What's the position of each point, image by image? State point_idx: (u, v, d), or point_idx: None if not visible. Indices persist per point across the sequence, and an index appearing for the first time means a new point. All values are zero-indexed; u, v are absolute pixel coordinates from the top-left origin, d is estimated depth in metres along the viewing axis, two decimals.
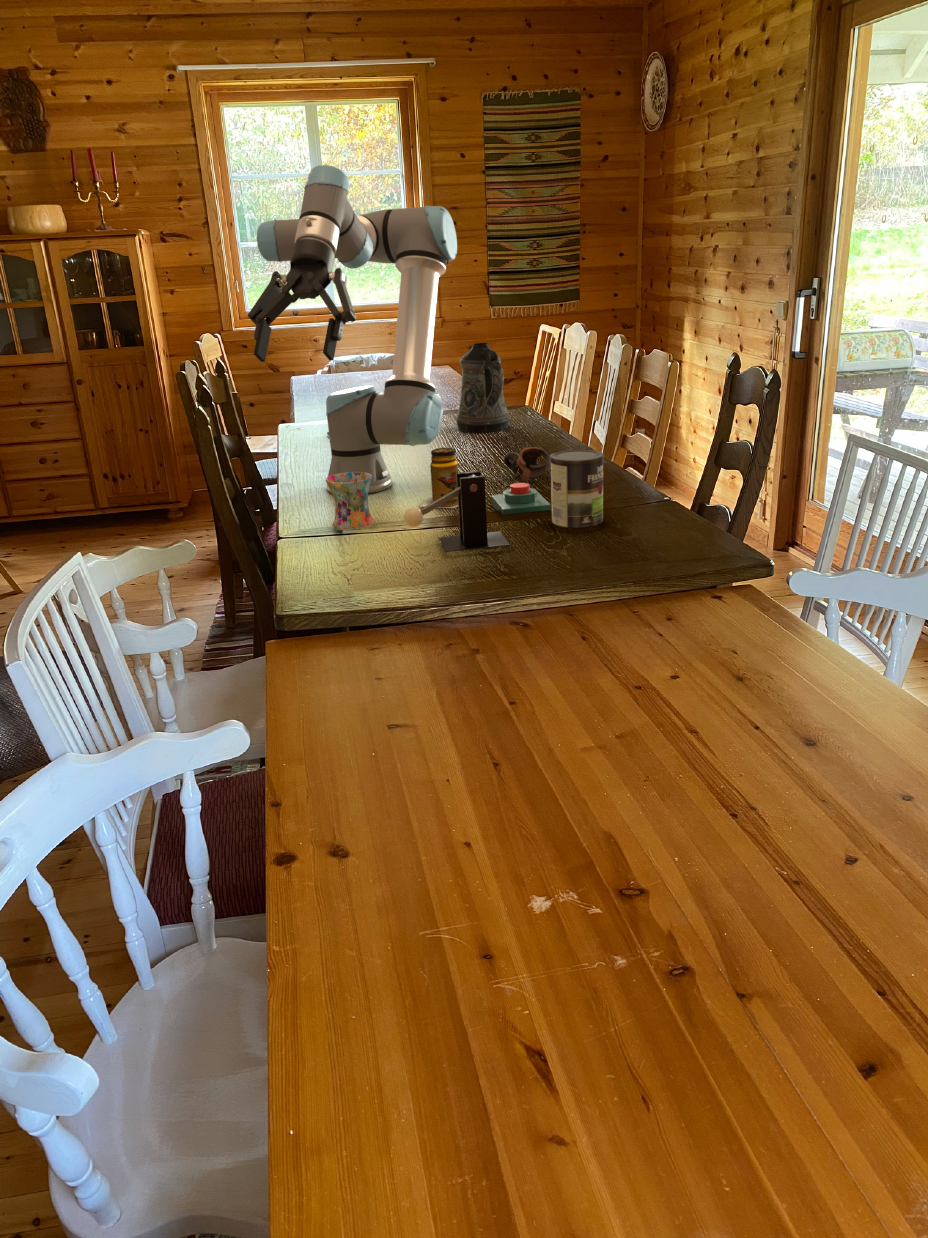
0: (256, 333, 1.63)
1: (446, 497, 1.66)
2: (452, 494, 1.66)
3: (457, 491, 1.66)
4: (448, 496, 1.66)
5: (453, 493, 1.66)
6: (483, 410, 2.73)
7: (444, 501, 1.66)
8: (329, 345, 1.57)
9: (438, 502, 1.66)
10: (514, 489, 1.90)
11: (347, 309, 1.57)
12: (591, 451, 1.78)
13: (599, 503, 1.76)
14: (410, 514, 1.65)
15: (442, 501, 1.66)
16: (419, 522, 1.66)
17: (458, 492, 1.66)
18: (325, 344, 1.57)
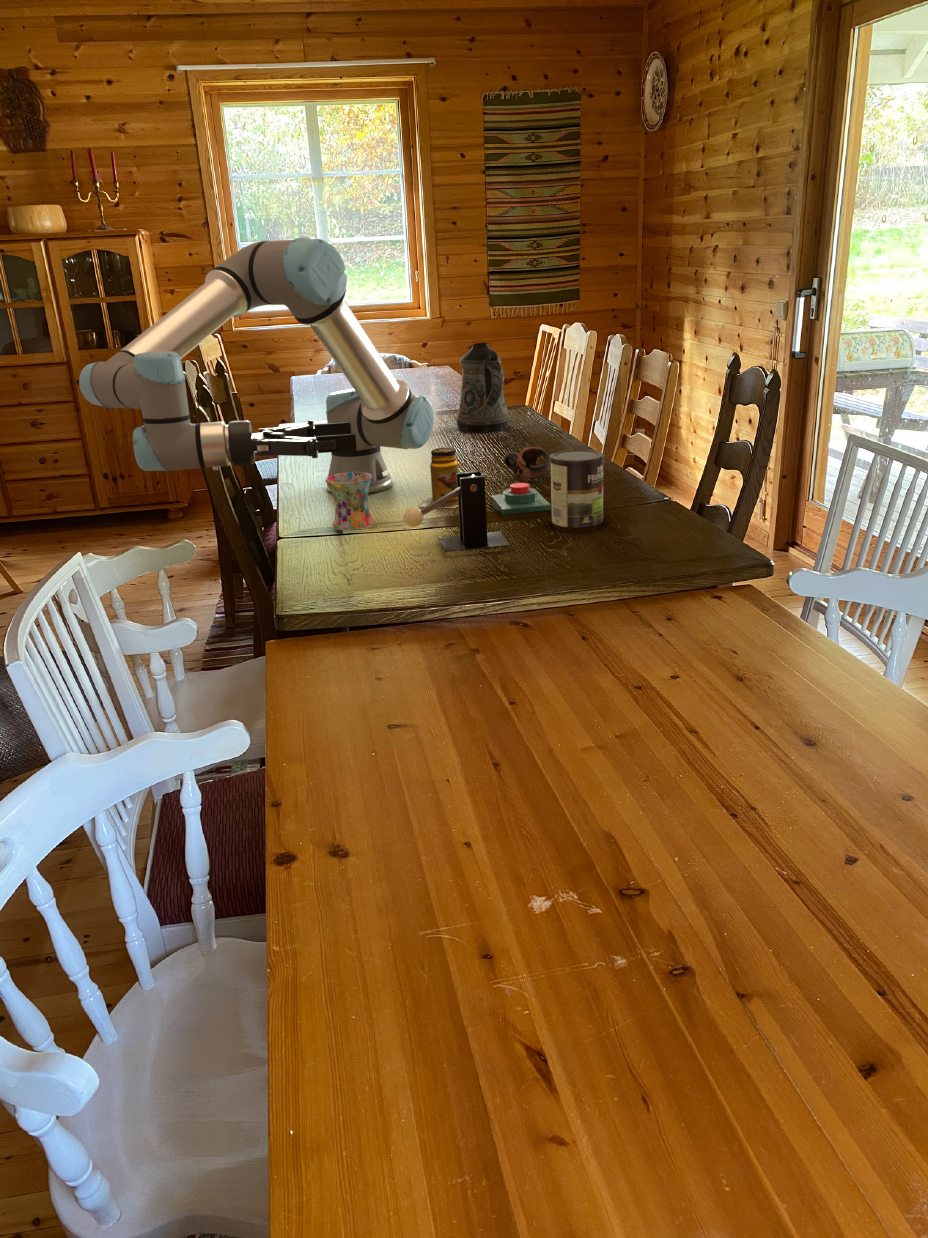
0: None
1: (446, 497, 1.66)
2: (452, 494, 1.66)
3: (457, 491, 1.66)
4: (448, 496, 1.66)
5: (453, 493, 1.66)
6: (483, 410, 2.73)
7: (444, 501, 1.66)
8: (347, 448, 1.54)
9: (438, 502, 1.66)
10: (514, 489, 1.90)
11: None
12: (591, 451, 1.78)
13: (599, 503, 1.76)
14: (410, 514, 1.65)
15: (442, 501, 1.66)
16: (419, 522, 1.66)
17: (458, 492, 1.66)
18: None
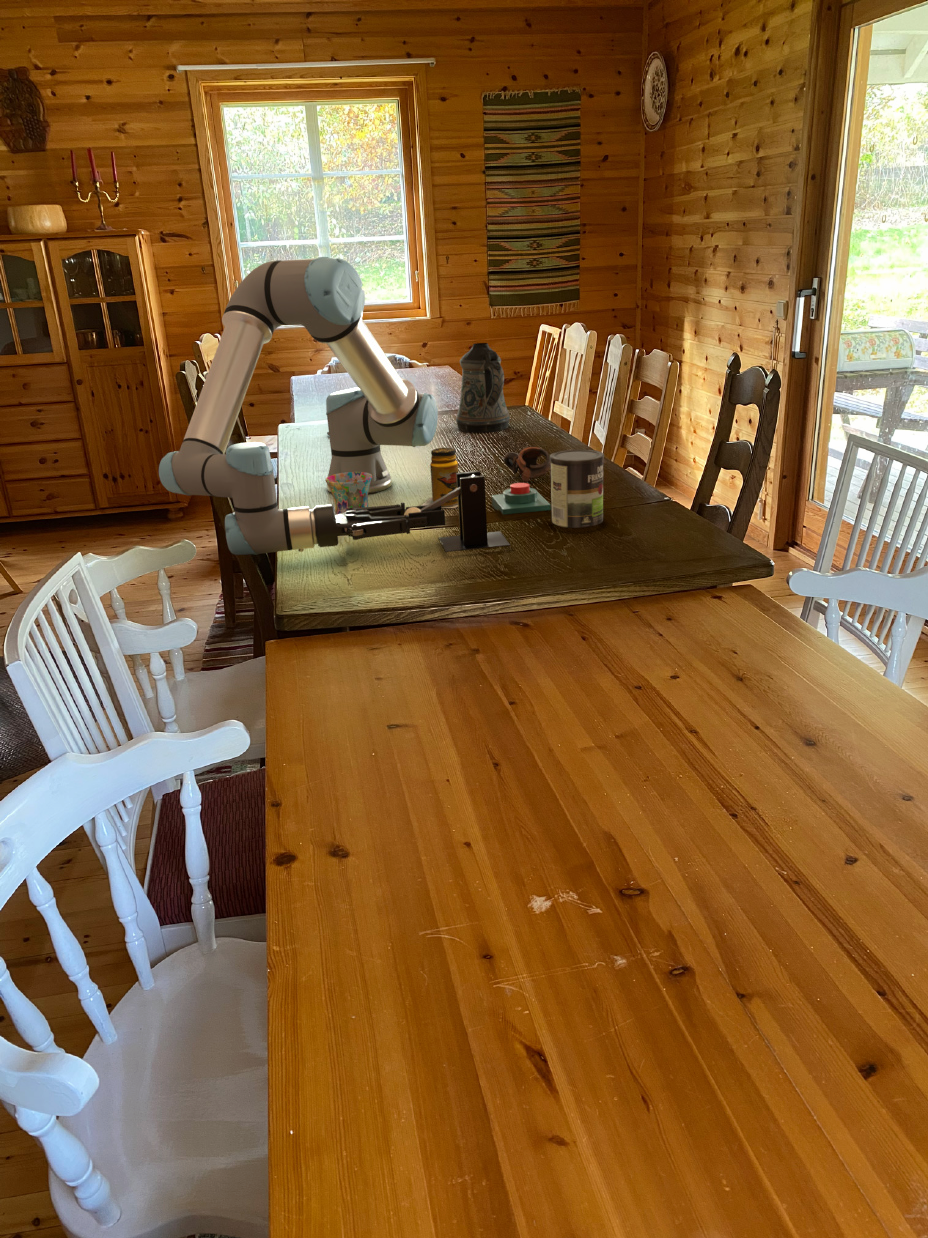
0: None
1: (446, 497, 1.66)
2: (452, 494, 1.66)
3: (457, 491, 1.66)
4: (448, 496, 1.66)
5: (453, 493, 1.66)
6: (483, 410, 2.73)
7: (444, 501, 1.66)
8: (436, 523, 1.66)
9: (438, 502, 1.66)
10: (514, 489, 1.90)
11: None
12: (591, 451, 1.78)
13: (599, 503, 1.76)
14: None
15: (442, 501, 1.66)
16: None
17: (458, 492, 1.66)
18: None
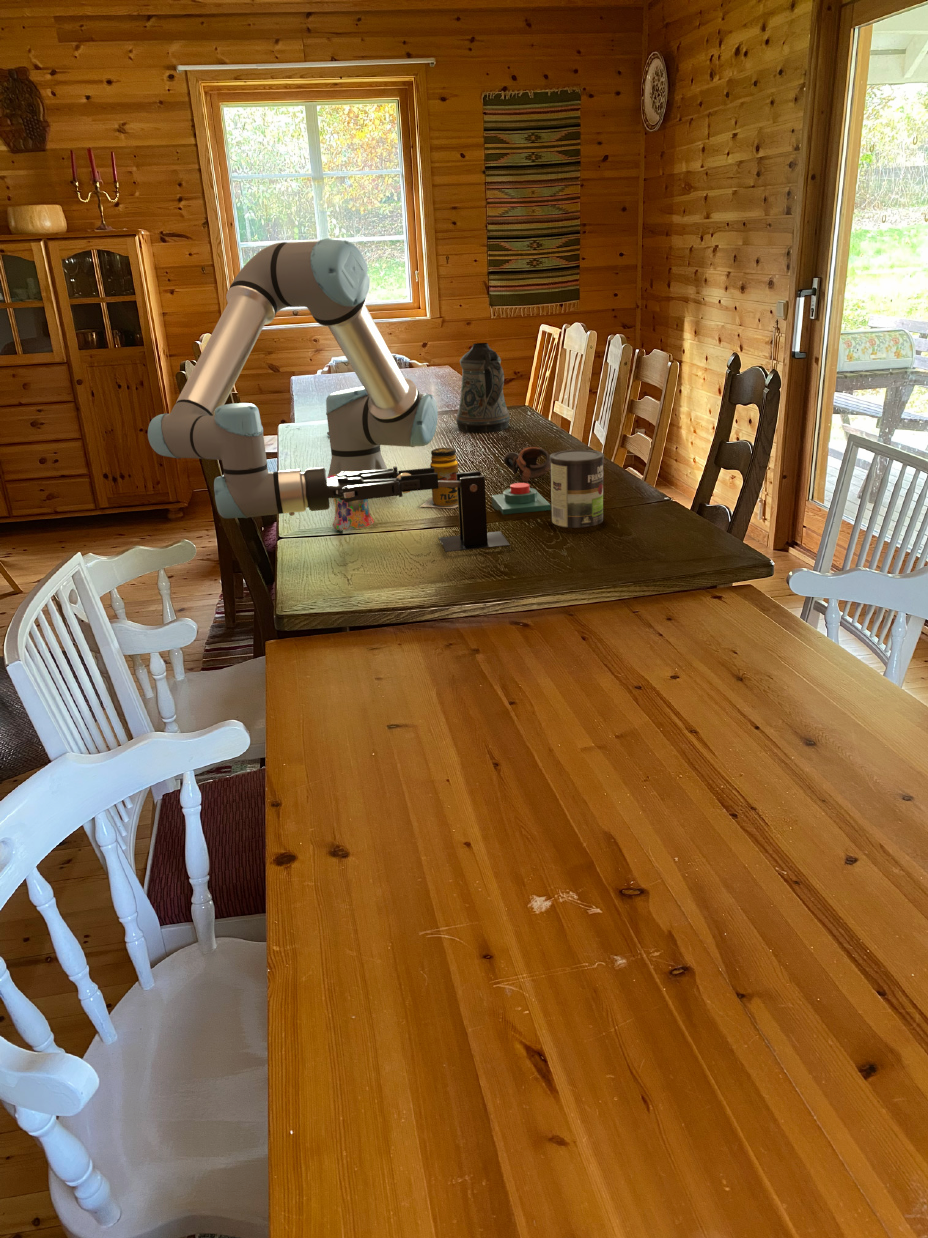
0: None
1: (443, 482, 1.65)
2: (450, 483, 1.65)
3: (456, 483, 1.66)
4: (446, 483, 1.65)
5: (451, 483, 1.65)
6: (483, 410, 2.73)
7: (440, 485, 1.65)
8: (429, 486, 1.63)
9: None
10: (514, 489, 1.90)
11: None
12: (591, 451, 1.78)
13: (599, 503, 1.76)
14: None
15: (438, 484, 1.65)
16: None
17: (456, 484, 1.66)
18: (429, 488, 1.64)
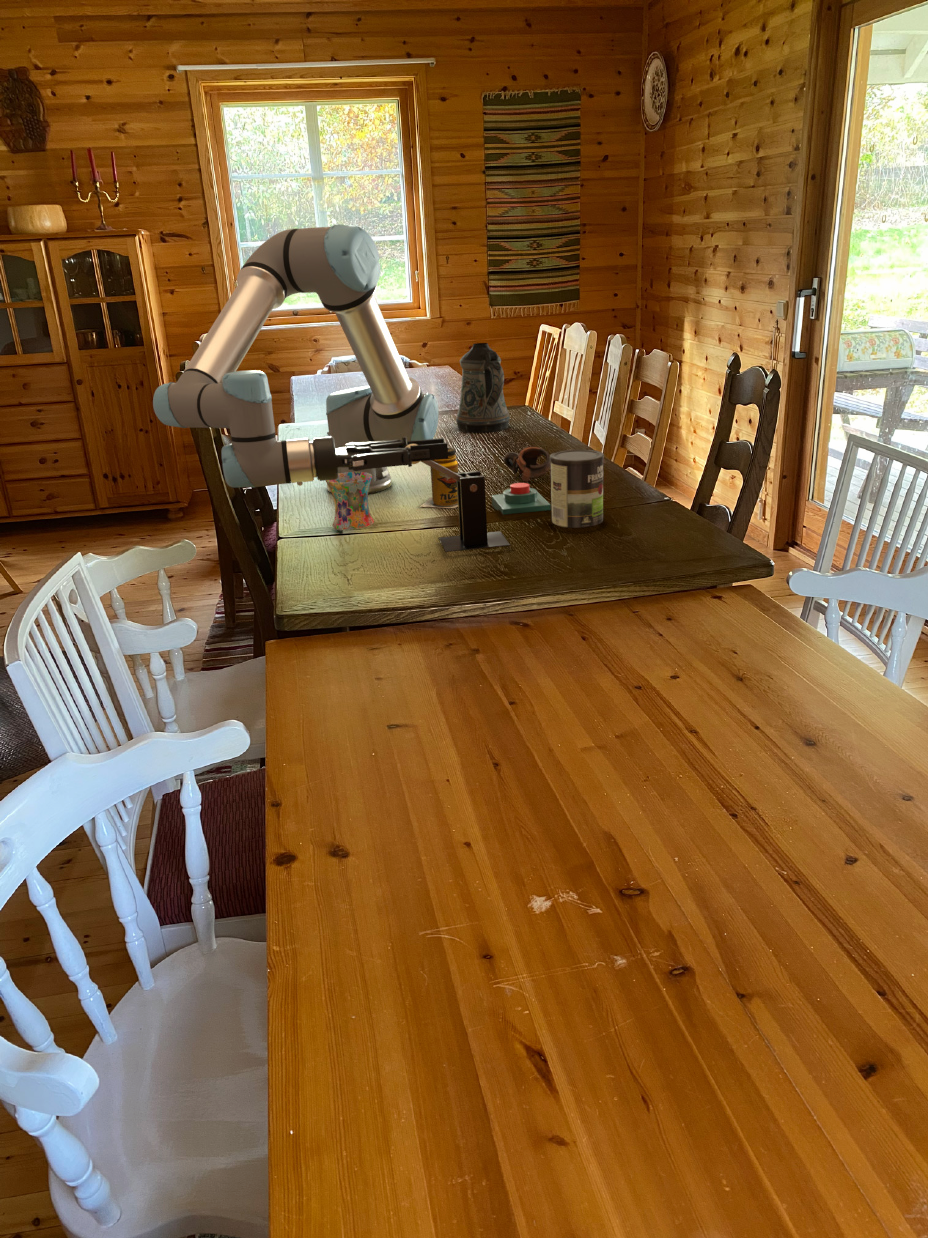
0: None
1: (448, 471, 1.64)
2: (453, 474, 1.65)
3: (458, 477, 1.65)
4: (449, 472, 1.65)
5: (455, 474, 1.65)
6: (483, 410, 2.73)
7: (443, 471, 1.64)
8: (439, 456, 1.61)
9: (439, 467, 1.64)
10: (514, 489, 1.90)
11: (403, 464, 1.58)
12: (591, 451, 1.78)
13: (599, 503, 1.76)
14: None
15: (442, 470, 1.64)
16: None
17: (458, 478, 1.65)
18: (439, 458, 1.62)
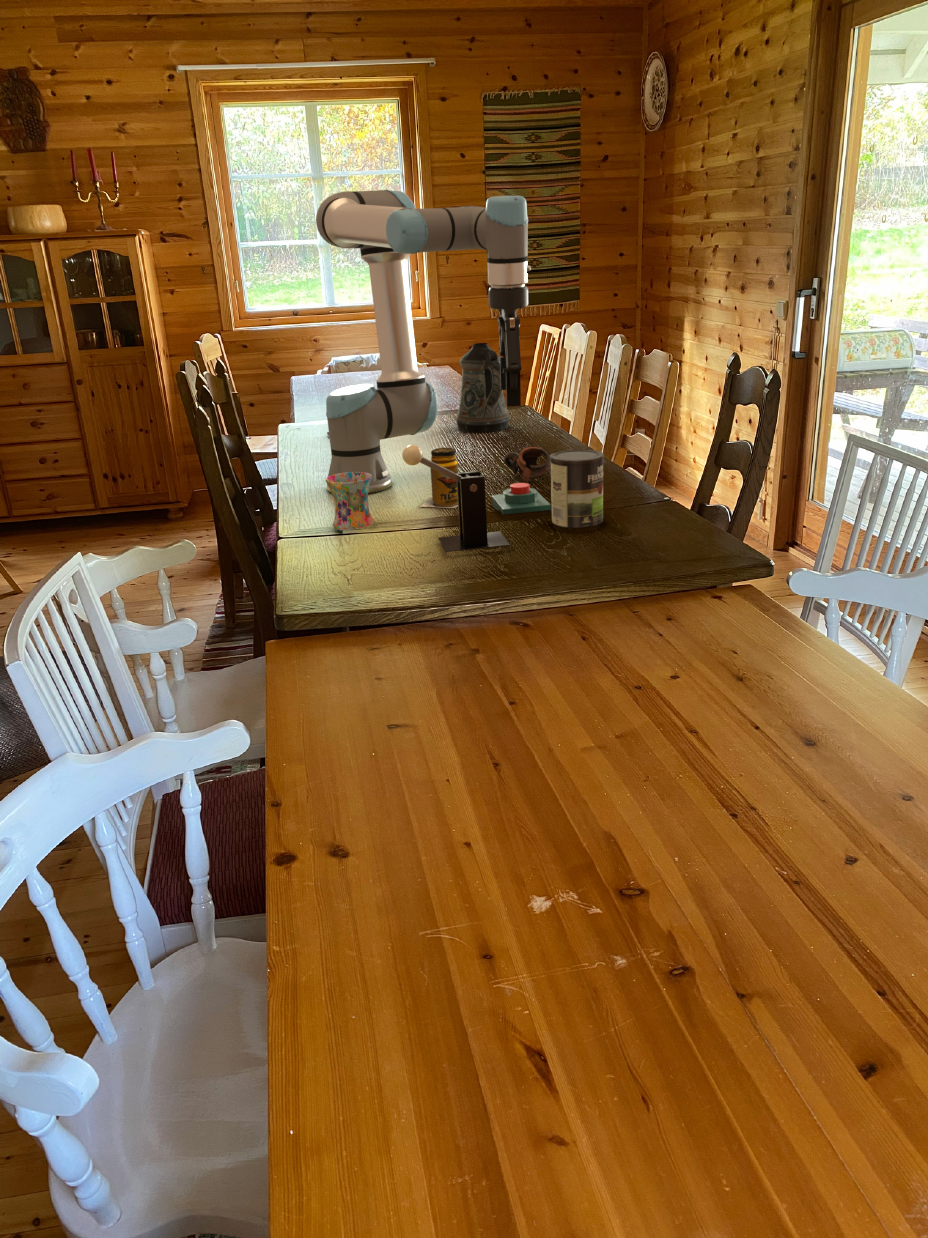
0: (517, 384, 1.74)
1: (447, 471, 1.64)
2: (453, 474, 1.65)
3: (458, 477, 1.65)
4: (449, 472, 1.65)
5: (454, 475, 1.65)
6: (483, 410, 2.73)
7: (443, 472, 1.64)
8: None
9: (439, 467, 1.64)
10: (514, 489, 1.90)
11: None
12: (591, 451, 1.78)
13: (599, 503, 1.76)
14: (414, 450, 1.61)
15: (442, 470, 1.64)
16: (413, 463, 1.62)
17: (458, 478, 1.65)
18: None
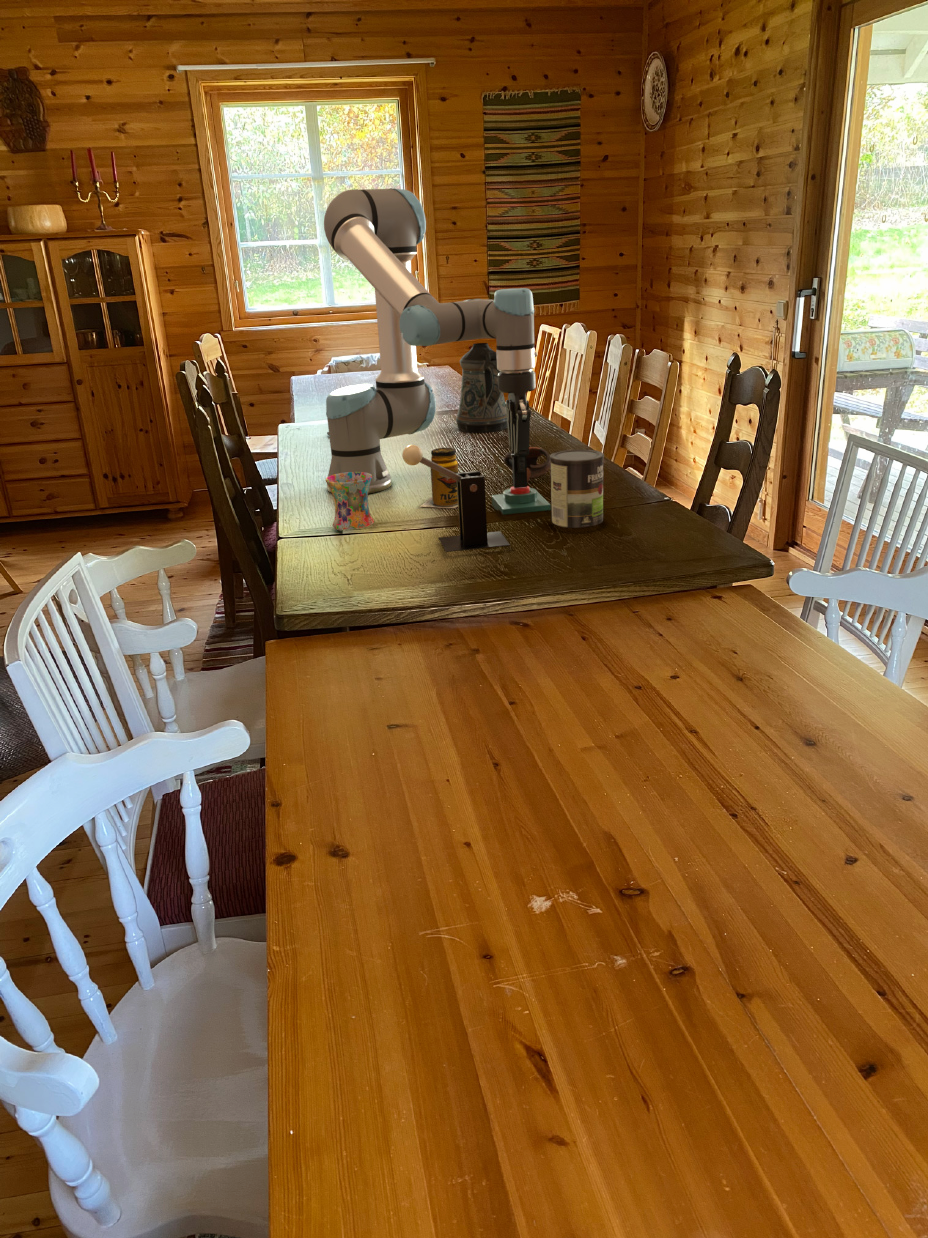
0: (524, 467, 1.88)
1: (447, 471, 1.64)
2: (453, 474, 1.65)
3: (458, 477, 1.65)
4: (449, 472, 1.65)
5: (454, 475, 1.65)
6: (483, 410, 2.73)
7: (443, 472, 1.64)
8: None
9: (439, 467, 1.64)
10: (515, 492, 1.90)
11: None
12: (591, 451, 1.78)
13: (599, 503, 1.76)
14: (414, 450, 1.61)
15: (442, 470, 1.64)
16: (413, 463, 1.62)
17: (458, 478, 1.65)
18: None
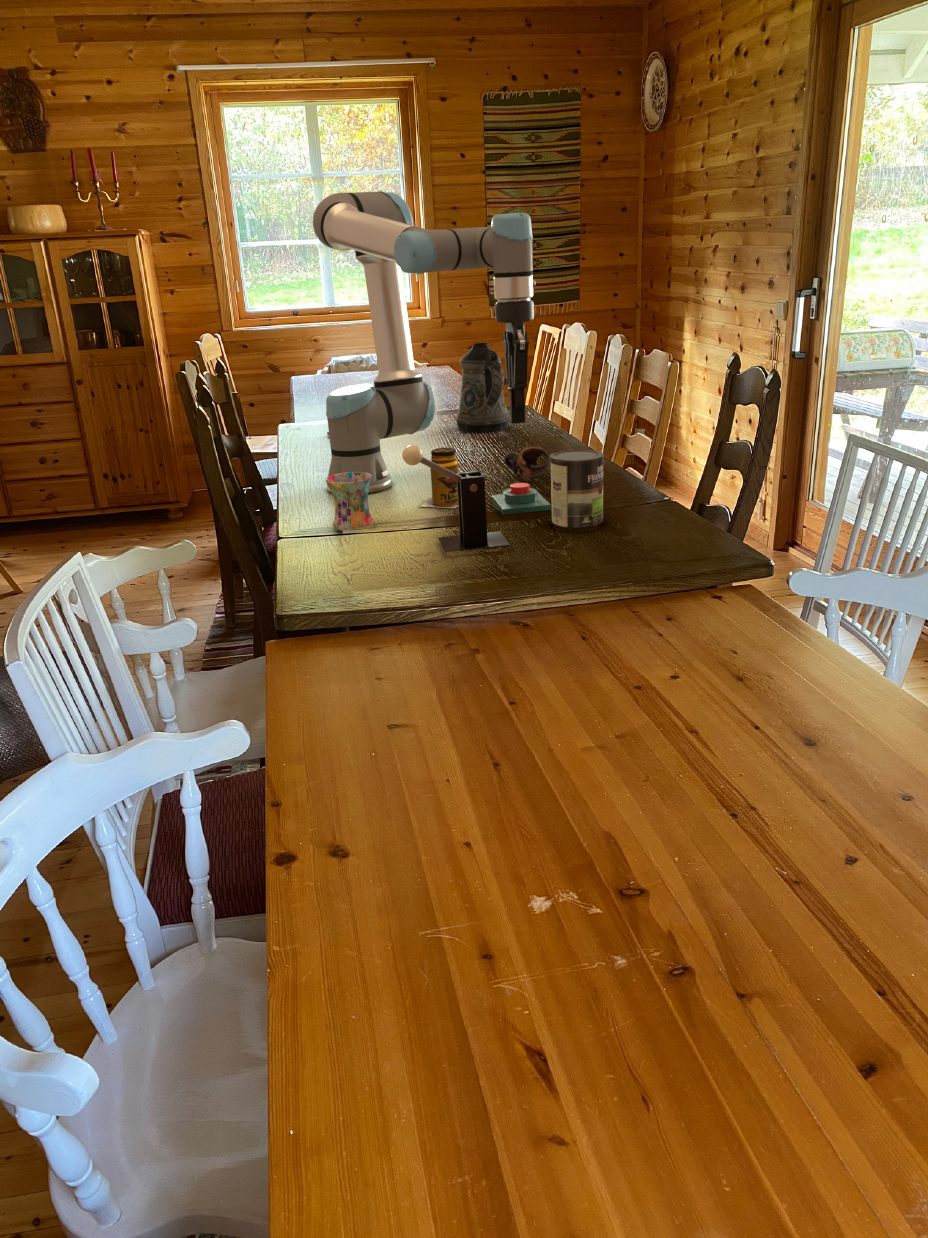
0: None
1: (447, 471, 1.64)
2: (453, 474, 1.65)
3: (458, 477, 1.65)
4: (449, 472, 1.65)
5: (454, 475, 1.65)
6: (483, 410, 2.73)
7: (443, 472, 1.64)
8: None
9: (439, 467, 1.64)
10: (514, 489, 1.90)
11: None
12: (591, 451, 1.78)
13: (599, 503, 1.76)
14: (414, 450, 1.61)
15: (442, 470, 1.64)
16: (413, 463, 1.62)
17: (458, 478, 1.65)
18: None
